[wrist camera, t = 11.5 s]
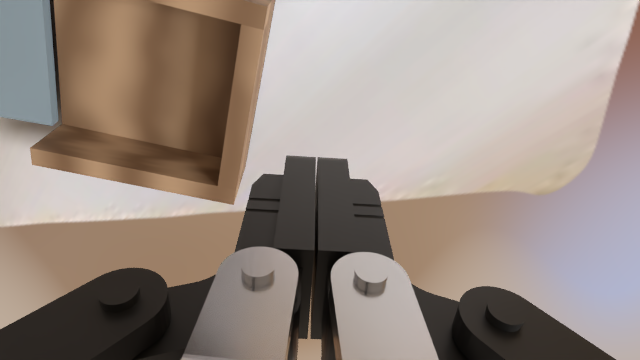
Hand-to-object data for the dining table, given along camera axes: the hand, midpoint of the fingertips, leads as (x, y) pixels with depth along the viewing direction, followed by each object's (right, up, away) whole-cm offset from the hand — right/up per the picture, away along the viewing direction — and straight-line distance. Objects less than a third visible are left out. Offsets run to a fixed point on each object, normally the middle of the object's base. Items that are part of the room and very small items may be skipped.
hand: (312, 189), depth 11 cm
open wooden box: (-14, +10, +27) cm, 32 cm away
